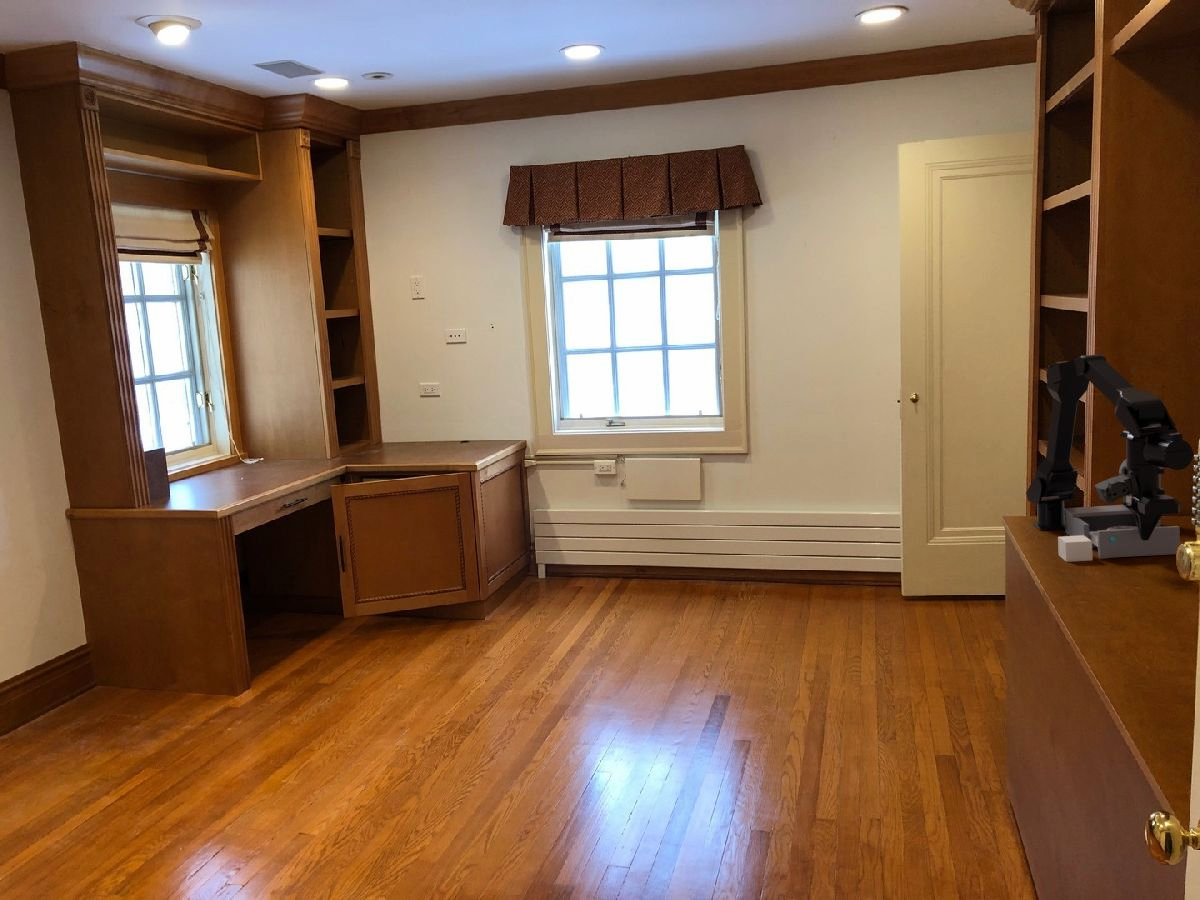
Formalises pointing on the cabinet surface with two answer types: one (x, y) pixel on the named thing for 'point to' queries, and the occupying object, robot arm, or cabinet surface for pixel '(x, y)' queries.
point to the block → (1075, 548)
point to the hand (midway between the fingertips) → (1144, 540)
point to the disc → (1121, 527)
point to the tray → (1135, 542)
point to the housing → (1097, 519)
